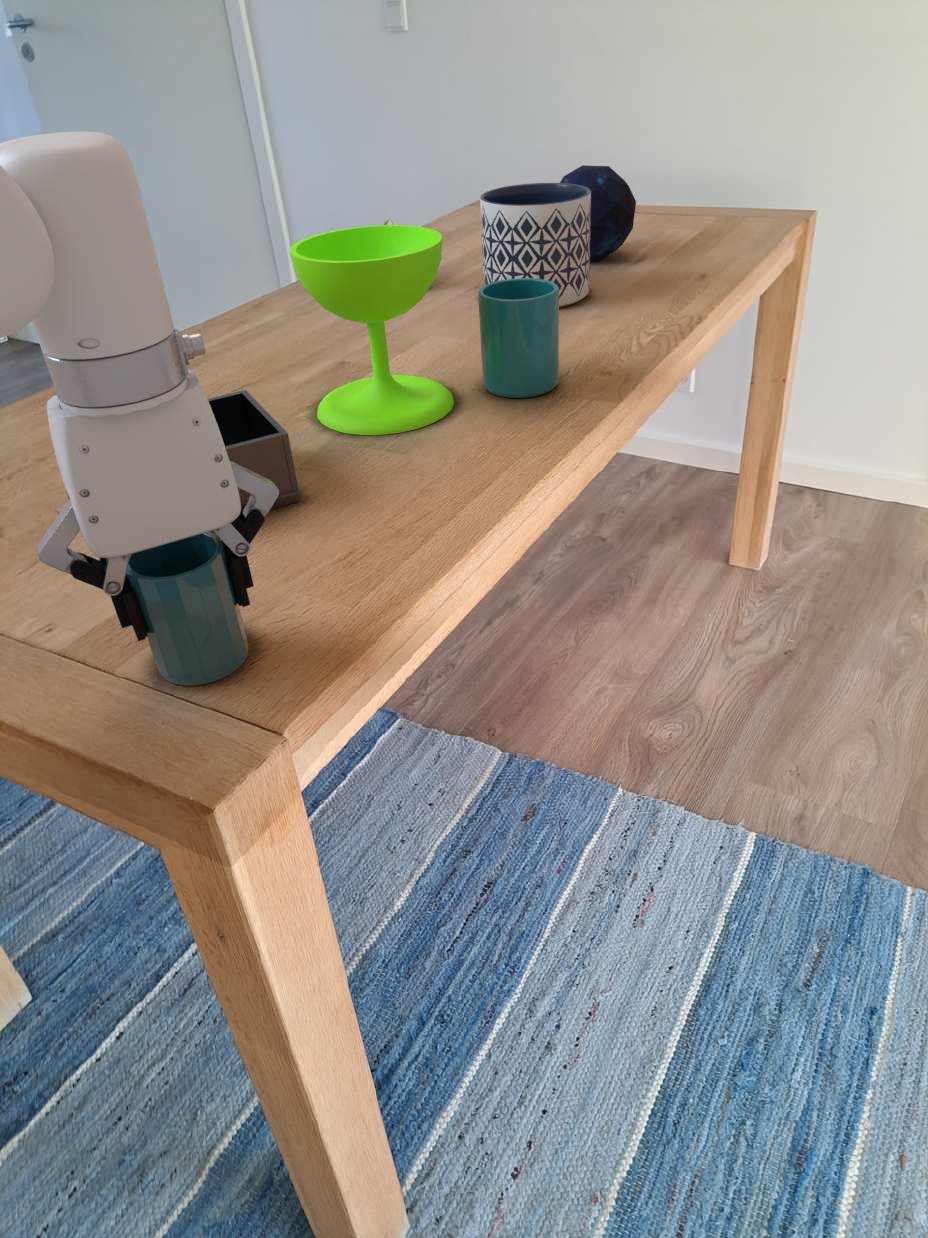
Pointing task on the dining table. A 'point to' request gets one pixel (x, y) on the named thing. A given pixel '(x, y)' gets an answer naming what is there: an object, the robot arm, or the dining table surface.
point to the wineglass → (374, 319)
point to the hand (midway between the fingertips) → (190, 611)
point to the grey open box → (256, 443)
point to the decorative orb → (605, 208)
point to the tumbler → (189, 609)
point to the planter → (538, 236)
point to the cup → (519, 336)
